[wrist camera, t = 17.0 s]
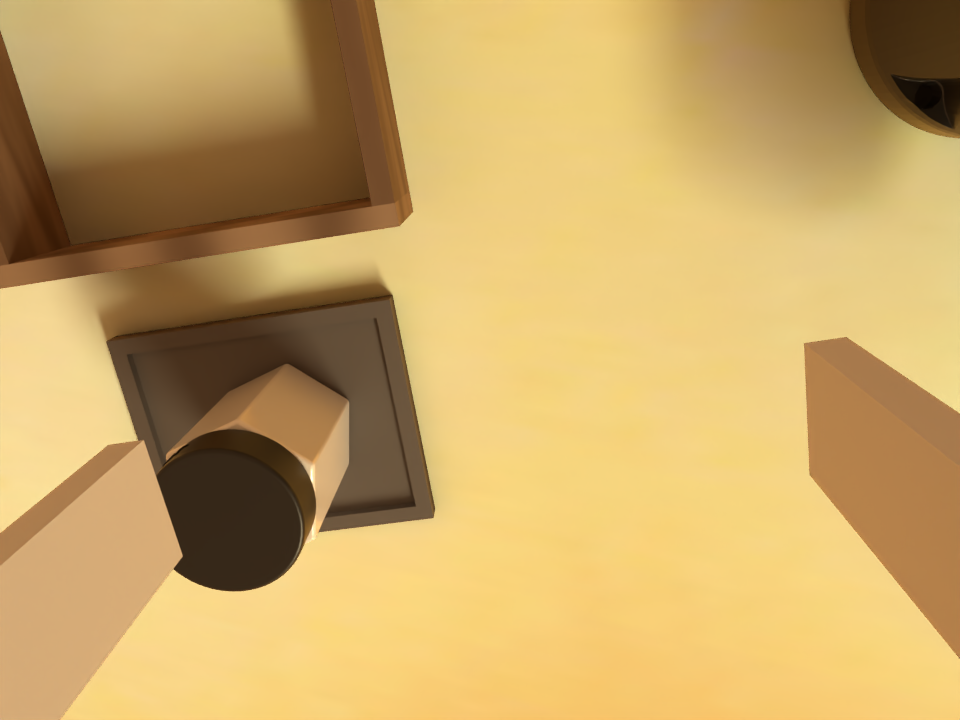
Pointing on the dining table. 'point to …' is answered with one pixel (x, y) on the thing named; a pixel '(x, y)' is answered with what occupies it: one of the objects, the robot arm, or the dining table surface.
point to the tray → (319, 354)
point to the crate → (49, 256)
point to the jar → (256, 479)
